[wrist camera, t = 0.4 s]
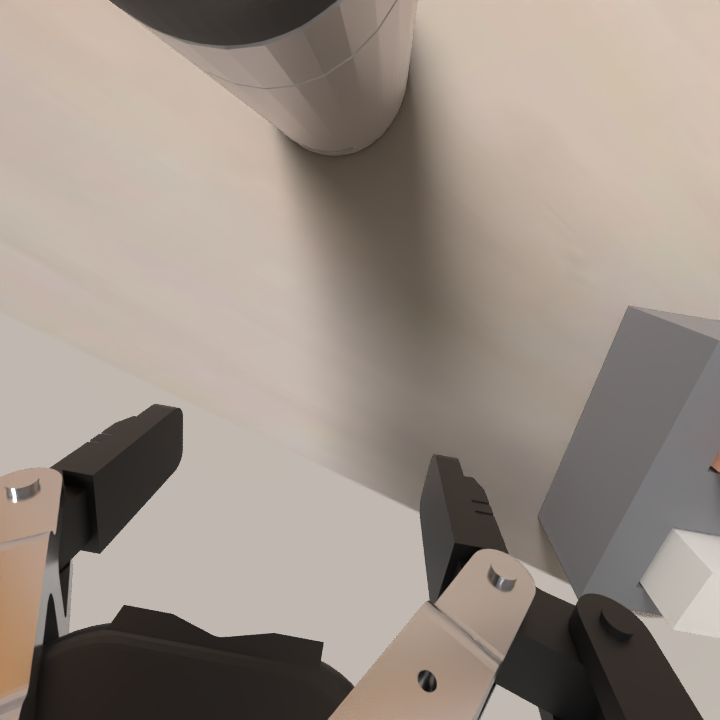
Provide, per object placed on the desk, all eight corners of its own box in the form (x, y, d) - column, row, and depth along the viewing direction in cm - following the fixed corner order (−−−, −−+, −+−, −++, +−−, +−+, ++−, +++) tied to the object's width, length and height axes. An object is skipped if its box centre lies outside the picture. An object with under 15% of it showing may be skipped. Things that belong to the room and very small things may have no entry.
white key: (645, 498, 27) (712, 572, 21) (715, 510, 27) (800, 588, 21) (617, 548, 29) (672, 629, 23) (682, 560, 28) (753, 644, 23)
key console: (628, 305, 27) (719, 340, 19) (795, 333, 27) (952, 379, 19) (537, 516, 34) (578, 600, 27) (668, 539, 34) (745, 630, 27)
